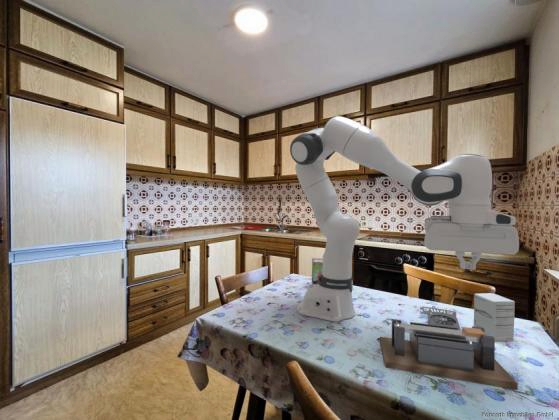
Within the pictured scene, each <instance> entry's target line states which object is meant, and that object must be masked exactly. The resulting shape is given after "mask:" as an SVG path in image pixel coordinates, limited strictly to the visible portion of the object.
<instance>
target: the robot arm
mask: <svg viewBox="0 0 559 420" xmlns="http://www.w3.org/2000/svg"><path fill="white" fill-rule="evenodd" d="M289 153H290V155H291V156H290V157H291V158H292V160H293V161H294V162H295V165H294V167H295V168H294V169H295V173H296V177H297V179H298V183H299V184H300V187H301V189H302V191H303V193H304V195H305V197H306V199H307V201H308V203H309V205H310V207H311V209H312V213H313V215H314V218H315V221H316V223H317V226H318V230H319V231H320V234H321V235H323V236H324V237H325V239H326V243H325V248H324V253H323V255H322V258H323V274H322V273H319V274H318V276H317V277H318V279H317V282H318V284H317V285H315V286H314V287H312V286H311V288H309V289H308V290H307V291H306V292H305V294H304V296H303V300H301V301H300V302H299V304H298V305H297V313H298V314H299V315H303V316H306V317H312V318H315V319H320V320H326V321H329V322H333V323H335V322H336V323H337V322H340V321H342V320H348V319H350V318H351V319H352V318H353V317H354V316H355V315H356V310H355V307H354V302H353V301H354V300H353V290H354V287H353V285H354V283H353V281H354V280H353V276H352V262H353V261H352V259H353V253H354V248H355V244H356V240H357V239H358V237H359V235H360V233H361V226H360V223H359V222H358V220H357V219H355V218H354V217H353V216H352V215H350V214H346V213H343V212H342V211H341V208H340V205H339V201H338V194H337V193H338V192H336V190H335V188H334V185H333V183H332V181H331V179H330V177H329V175H328V173H327V172H326V169H325V166H324V162H325V161H329V159H330V158H331V157H332V156H333V155H334V154H335V153H338V154H340V155H341V156H342V157H344V158H346V159H347V160H349V161H351V162H354V163H355V164H358V165H361V166H363V167H366V168H370V169H372V170H375V171H377V172H380V173H382V174H384V175H386V176H387V177H389V178H391V179H393V180H394V181H396V182H397V183H399V184H401V185H402V186H404V187H405V188H406V189H408V190H409V192H410V194H411V195H412V196H413V198H414V199H415V201H416V202H418V203H419V204H421V205H425V206H437V205H439V204H441V203H443V202H446V201H447V202H448V204H449V206H448V215H439V216H437V215H430V217H428V218H426V219H425V220H424V230H425V233H424V234H425V235H424V241H423V245H424V247H425V248H426V249H428V250H430V251H440V252H441V251H443V252H454V253H455V256H456V257H457V259H458V261H459V267H460V269H461V270H471V271H473V270H474V271H476V269H477V267H476V265H477V263H478V262H479V261H480V260H481V258H482V254H495V255H496V254H497V255H512V256H515V255H516V254H517V253H518V252H519V249H520V240H519V239H520V236H519V233H518V229H517V228H516V227H515V226H514V225H515V224H516V221H517V219H516V217H515V216H513V215H509V214H505V213H502V212H499V211H495V210H492V202H491V198H490V197H491V196H490V195H491V192H492V189H493V174H492V165H491V162H490V160H489V159H488V158H487V157H485V156H482V155H479V154H473V153H464V154H463V153H462V154H456V155H455V156H453V157H452V158H451V159H449V160H448V161H445V162H442V163H441V164H438V165H436V166H433V167H430V168H427V169H424V170H419V169H418V168H415V167H414V166H412V165H410V164H409V163H407V162H406V161H403V160H402V159H400V157H398V156H396V155H395V154H394V153H393V151H392V150H391V149H390V148H389V147H388V145H387V144H386V142H385V141H384V139H383V138H381V136H380V135H378V134H377V133H376V132H375V131H373V129H371V128H369V127H368V126H366V125H364V124H363V123H360V122H358V121H356V120H353V119H350V118H347V117H346V116H341V115H337V116H334V117H331V118H330V119H329V120H328V121H327V122H326V124H325V125H324V126H322V127H318V128H313V129H311V130H309V131H307V132H305V133H301V134H299V135H298V136H296V137H295V138H293V140H292V141H291V143H290V146H289ZM466 253H471V254H470V255H471V256H472V258H471V259H470V260H469V261H466V260H465V258H464V257H465V255H466Z"/></svg>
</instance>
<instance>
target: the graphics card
mask: <svg viewBox="0 0 559 420" xmlns="http://www.w3.org/2000/svg"><path fill="white" fill-rule="evenodd" d="M419 309H420V310H421V311H419V314H423V315H426V314H427V315H426V316H427V318H428V324H431V325H440V326H448V327H457V328H458V330H462V328H461V327H460V323H459V320H458V318H457V311H456V310H451V309H443V308H437V307H428V306H424V305H422V306H419ZM425 309H426V310H425Z"/></svg>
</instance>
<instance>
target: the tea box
mask: <svg viewBox="0 0 559 420" xmlns="http://www.w3.org/2000/svg"><path fill="white" fill-rule="evenodd" d="M319 273H322V274H323V257H321V258H320V257H319V258H317V257H316V258H315V257H312V259H311V288H312V287H314V286H315V285H317V284H318V282H317V279H318V277H317V276H318V274H319Z"/></svg>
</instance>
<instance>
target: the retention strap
mask: <svg viewBox="0 0 559 420" xmlns="http://www.w3.org/2000/svg"><path fill="white" fill-rule="evenodd" d="M395 326H398V327H404V328H405V334H410V333H412V334H423V335H431V336H438V337H446V338H454V339H461V340H469V341H470V342H471V343H472V342H480V343H481V335H485V336H487V335H486V334H485V333H484V332H483V331H482V330H481V329H476V328H472V327H466V326H462V327H461V330H453V329H445V328H437V327H429V326H421V325H413V324H410V323H403V322H401V323H399V322H395V323H394V327H395Z"/></svg>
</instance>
